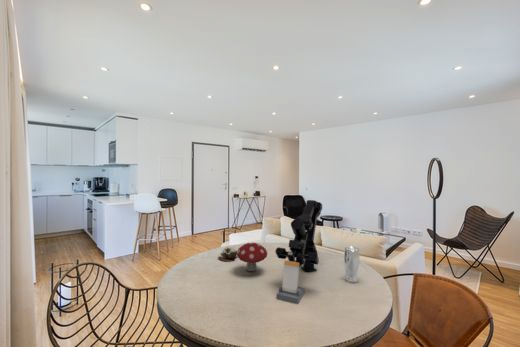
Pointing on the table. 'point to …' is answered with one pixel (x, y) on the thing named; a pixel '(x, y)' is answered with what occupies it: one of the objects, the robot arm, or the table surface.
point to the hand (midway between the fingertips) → (292, 274)
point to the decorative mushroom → (251, 254)
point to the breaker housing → (291, 295)
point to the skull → (228, 254)
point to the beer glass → (351, 263)
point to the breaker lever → (290, 277)
